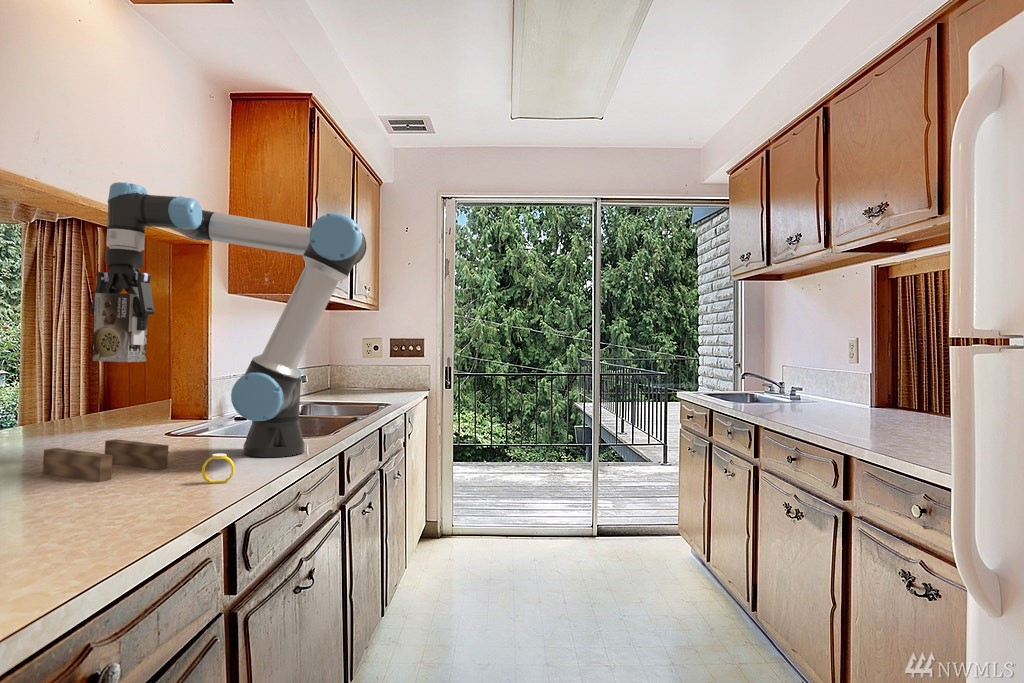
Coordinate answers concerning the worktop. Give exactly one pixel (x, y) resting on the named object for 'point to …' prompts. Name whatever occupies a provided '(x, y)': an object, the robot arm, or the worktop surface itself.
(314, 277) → the robot arm
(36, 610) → the worktop surface
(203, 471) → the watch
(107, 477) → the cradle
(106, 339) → the coffee box
